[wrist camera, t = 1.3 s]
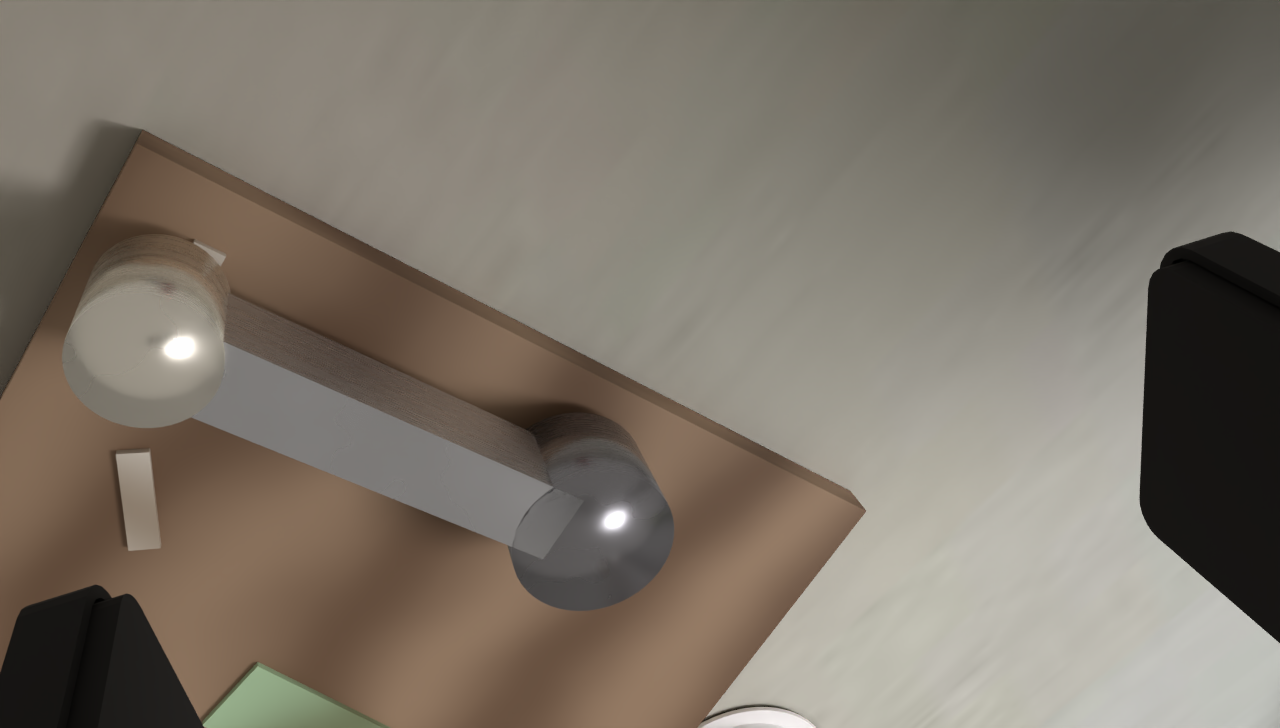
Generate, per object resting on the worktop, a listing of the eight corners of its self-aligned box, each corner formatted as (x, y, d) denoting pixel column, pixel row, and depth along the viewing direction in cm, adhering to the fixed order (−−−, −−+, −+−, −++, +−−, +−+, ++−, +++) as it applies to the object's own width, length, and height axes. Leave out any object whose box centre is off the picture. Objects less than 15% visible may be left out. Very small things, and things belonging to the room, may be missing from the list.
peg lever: (670, 448, 34) (710, 516, 31) (589, 563, 35) (619, 640, 32) (135, 188, 26) (115, 243, 23) (53, 342, 28) (23, 414, 24)
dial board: (850, 491, 39) (868, 514, 37) (576, 847, 43) (584, 877, 41) (142, 129, 28) (136, 146, 26) (-136, 653, 32) (-153, 688, 31)
